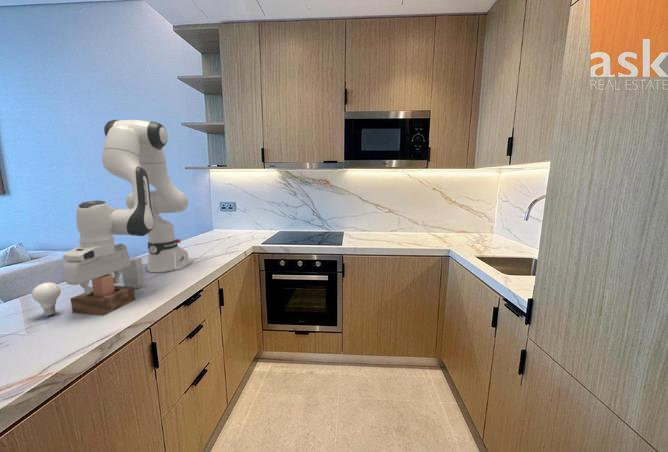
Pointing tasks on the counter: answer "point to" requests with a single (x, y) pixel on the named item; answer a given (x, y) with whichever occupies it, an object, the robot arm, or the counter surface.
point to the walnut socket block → (103, 301)
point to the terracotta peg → (103, 285)
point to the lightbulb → (47, 296)
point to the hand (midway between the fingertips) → (103, 287)
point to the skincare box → (134, 274)
